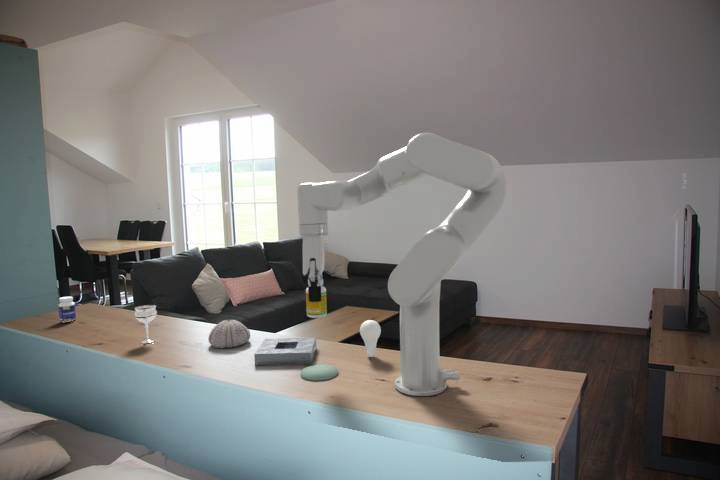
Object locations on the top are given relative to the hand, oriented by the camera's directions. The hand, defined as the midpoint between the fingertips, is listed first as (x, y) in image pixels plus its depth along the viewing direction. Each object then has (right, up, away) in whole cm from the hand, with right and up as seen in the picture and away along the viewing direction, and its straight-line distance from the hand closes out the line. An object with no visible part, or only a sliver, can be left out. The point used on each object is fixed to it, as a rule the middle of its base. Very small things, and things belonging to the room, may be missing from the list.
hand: (316, 298), depth 127 cm
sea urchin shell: (-31, -19, +30) cm, 47 cm away
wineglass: (-60, -19, +35) cm, 72 cm away
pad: (+1, -20, +2) cm, 21 cm away
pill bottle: (-105, -18, +66) cm, 125 cm away
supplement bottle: (0, -5, 0) cm, 5 cm away
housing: (-10, -19, +16) cm, 27 cm away
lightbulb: (+15, -19, +14) cm, 28 cm away
